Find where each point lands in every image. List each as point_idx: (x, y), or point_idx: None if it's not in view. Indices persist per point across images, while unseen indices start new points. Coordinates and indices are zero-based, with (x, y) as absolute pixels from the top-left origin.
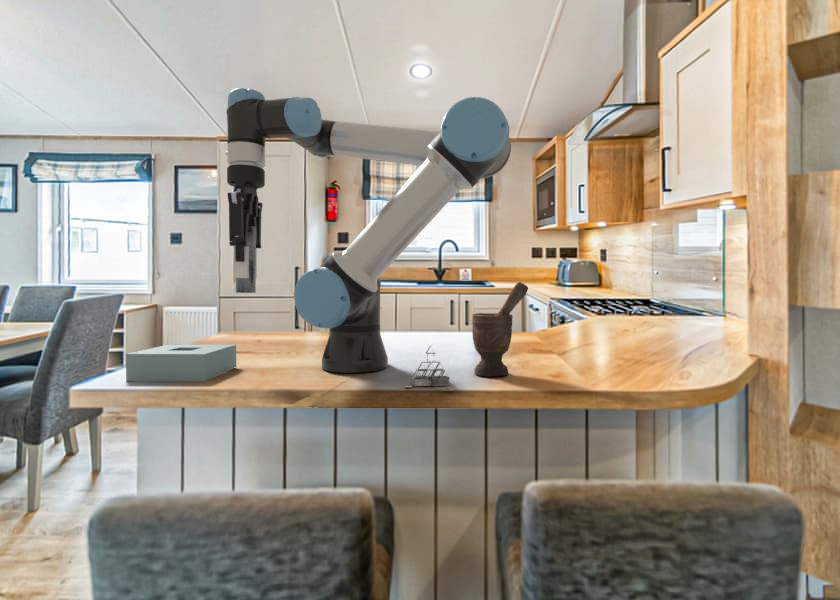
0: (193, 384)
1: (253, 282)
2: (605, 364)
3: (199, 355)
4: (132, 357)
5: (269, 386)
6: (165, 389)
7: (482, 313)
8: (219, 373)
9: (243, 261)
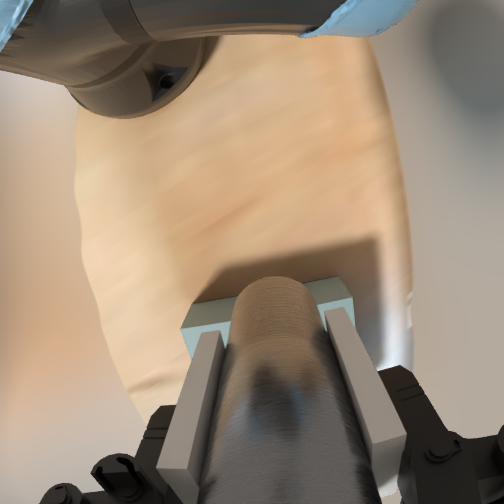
0: (365, 278)
1: (284, 295)
2: None
3: (352, 306)
4: None
5: (358, 128)
6: (405, 293)
7: None
8: None
9: (383, 370)
